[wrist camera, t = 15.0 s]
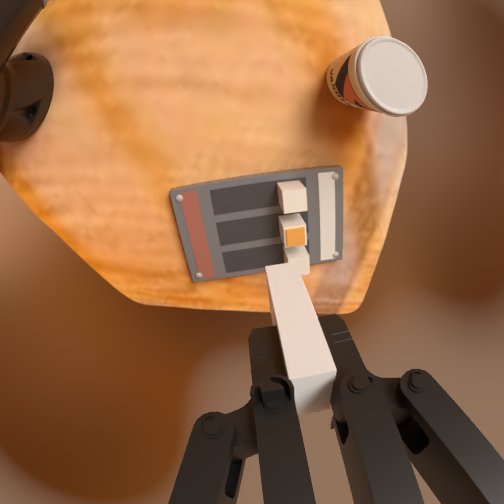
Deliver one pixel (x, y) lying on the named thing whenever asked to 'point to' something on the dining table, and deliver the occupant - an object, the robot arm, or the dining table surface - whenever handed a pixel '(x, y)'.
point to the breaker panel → (259, 221)
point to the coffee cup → (379, 77)
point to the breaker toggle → (292, 230)
